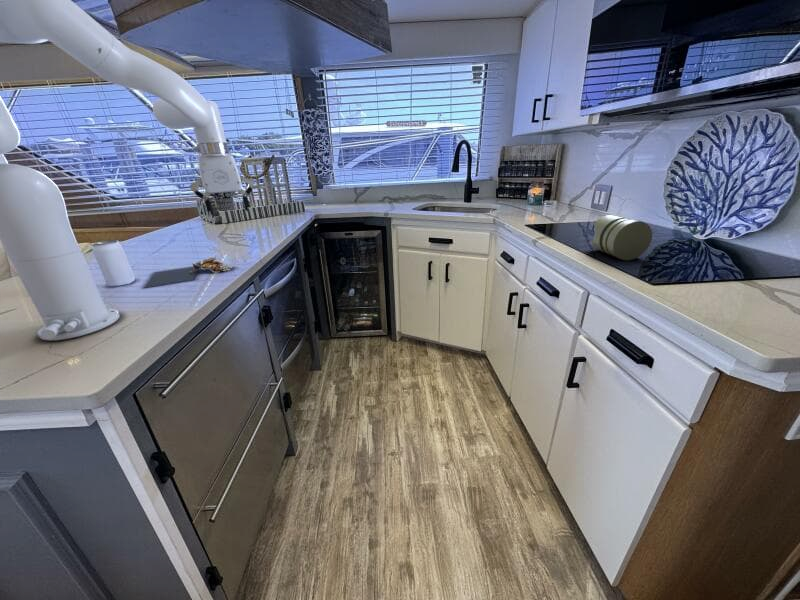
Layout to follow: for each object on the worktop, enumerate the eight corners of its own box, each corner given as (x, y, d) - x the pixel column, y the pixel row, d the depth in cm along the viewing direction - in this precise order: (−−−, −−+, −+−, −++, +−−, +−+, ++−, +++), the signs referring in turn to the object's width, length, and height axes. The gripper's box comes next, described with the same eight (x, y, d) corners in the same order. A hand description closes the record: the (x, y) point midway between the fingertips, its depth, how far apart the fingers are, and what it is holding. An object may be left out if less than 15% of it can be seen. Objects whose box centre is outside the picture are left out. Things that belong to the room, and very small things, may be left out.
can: (119, 287, 90) (102, 245, 85) (101, 286, 91) (83, 245, 86) (141, 279, 96) (125, 240, 91) (123, 279, 97) (107, 239, 92)
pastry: (228, 272, 99) (225, 261, 97) (188, 274, 99) (185, 263, 97) (237, 265, 105) (235, 255, 104) (201, 267, 105) (197, 256, 104)
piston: (618, 249, 106) (626, 214, 101) (646, 259, 95) (656, 220, 90) (585, 250, 105) (592, 215, 101) (609, 261, 94) (618, 222, 90)
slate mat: (194, 280, 93) (194, 279, 93) (144, 288, 89) (144, 287, 89) (198, 266, 107) (197, 266, 107) (154, 272, 102) (154, 272, 102)
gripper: (177, 151, 85) (197, 216, 92) (247, 149, 92) (260, 210, 99) (180, 152, 91) (198, 213, 98) (245, 150, 98) (258, 207, 105)
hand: (229, 211), depth 99 cm, fingers open, 9 cm apart
